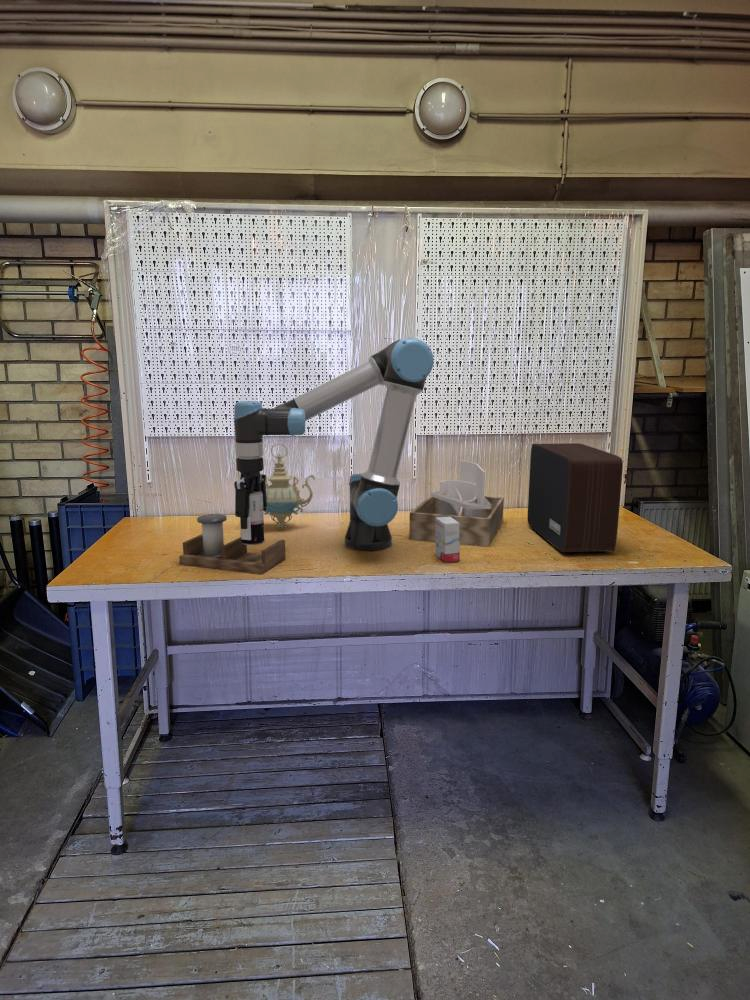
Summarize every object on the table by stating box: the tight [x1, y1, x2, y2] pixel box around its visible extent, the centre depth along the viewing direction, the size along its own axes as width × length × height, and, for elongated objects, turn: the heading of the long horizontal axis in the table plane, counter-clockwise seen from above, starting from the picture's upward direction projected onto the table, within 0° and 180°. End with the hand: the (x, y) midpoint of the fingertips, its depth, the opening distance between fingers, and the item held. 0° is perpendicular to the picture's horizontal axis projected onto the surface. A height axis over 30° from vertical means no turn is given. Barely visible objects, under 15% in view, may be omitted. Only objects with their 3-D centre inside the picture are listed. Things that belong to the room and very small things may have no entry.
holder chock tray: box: [408, 495, 505, 548], centre depth 215 cm, size 26×33×9 cm
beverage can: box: [239, 490, 265, 546], centre depth 178 cm, size 6×6×15 cm
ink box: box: [435, 517, 461, 563], centre depth 184 cm, size 9×5×12 cm, turn 13°
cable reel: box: [196, 513, 228, 558], centre depth 184 cm, size 8×8×12 cm
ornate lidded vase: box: [263, 443, 316, 530], centre depth 215 cm, size 24×12×30 cm, turn 91°
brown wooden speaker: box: [527, 442, 624, 553], centre depth 201 cm, size 36×18×30 cm, turn 4°
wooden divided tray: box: [178, 533, 287, 575], centre depth 182 cm, size 27×14×6 cm, turn 71°
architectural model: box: [430, 459, 491, 518], centre depth 213 cm, size 28×21×23 cm
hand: (252, 535), depth 179 cm, fingers closed on beverage can, 6 cm apart
